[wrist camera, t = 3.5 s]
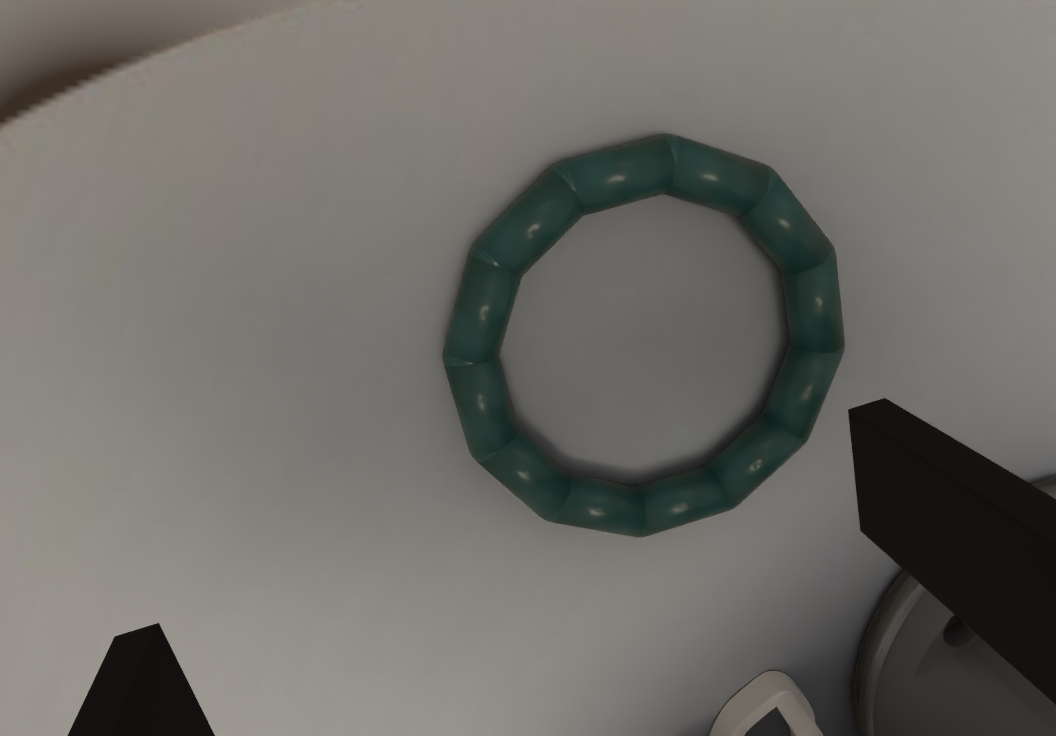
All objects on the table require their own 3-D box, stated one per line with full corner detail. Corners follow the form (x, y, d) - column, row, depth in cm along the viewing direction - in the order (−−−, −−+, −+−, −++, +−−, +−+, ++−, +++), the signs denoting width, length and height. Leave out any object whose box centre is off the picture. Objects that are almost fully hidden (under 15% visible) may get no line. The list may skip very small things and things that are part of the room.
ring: (802, 93, 23) (830, 93, 22) (841, 457, 28) (867, 477, 26) (396, 201, 22) (397, 207, 21) (501, 562, 27) (509, 589, 25)
